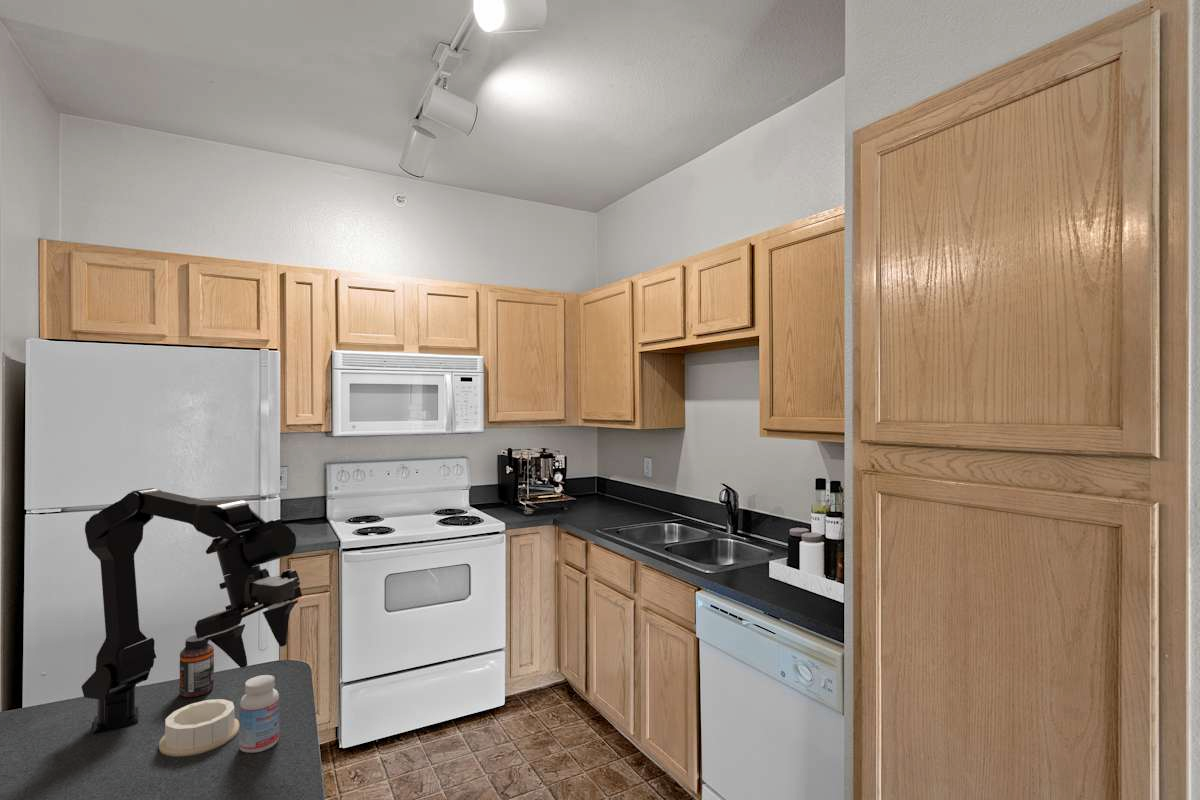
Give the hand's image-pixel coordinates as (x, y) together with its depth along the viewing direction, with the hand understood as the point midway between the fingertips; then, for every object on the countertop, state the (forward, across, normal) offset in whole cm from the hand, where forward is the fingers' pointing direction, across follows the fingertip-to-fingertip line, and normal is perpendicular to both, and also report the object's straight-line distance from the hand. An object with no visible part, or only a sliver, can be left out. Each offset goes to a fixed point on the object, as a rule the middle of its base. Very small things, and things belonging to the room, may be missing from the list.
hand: (264, 656), depth 107 cm
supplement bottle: (+6, +13, +31) cm, 34 cm away
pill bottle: (+15, -1, +5) cm, 16 cm away
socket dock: (+11, -1, +17) cm, 20 cm away
